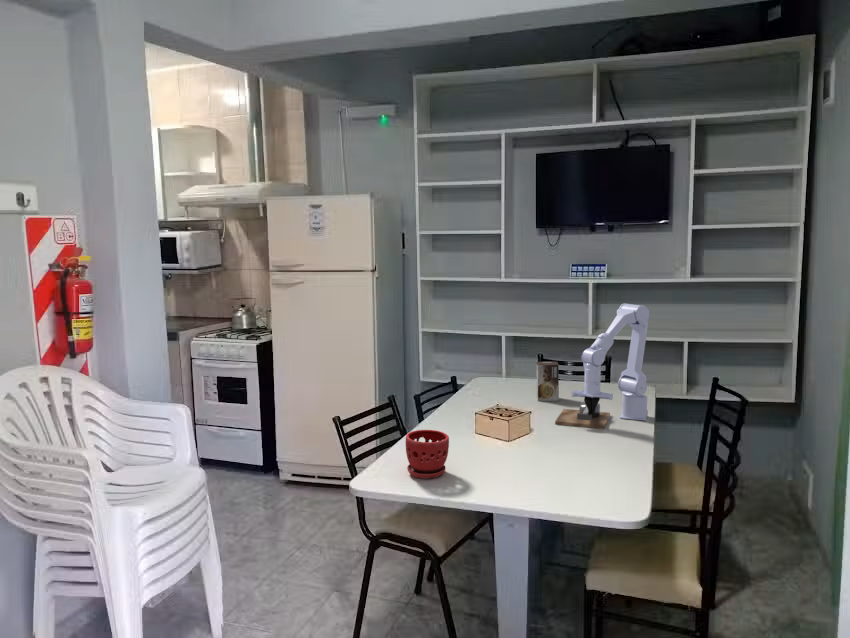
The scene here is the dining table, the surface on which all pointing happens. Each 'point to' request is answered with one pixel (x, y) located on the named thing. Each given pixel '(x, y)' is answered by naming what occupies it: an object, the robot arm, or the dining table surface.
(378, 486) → the dining table surface
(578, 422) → the board
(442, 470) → the plant pot
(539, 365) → the brown rectangular box
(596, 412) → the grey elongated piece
